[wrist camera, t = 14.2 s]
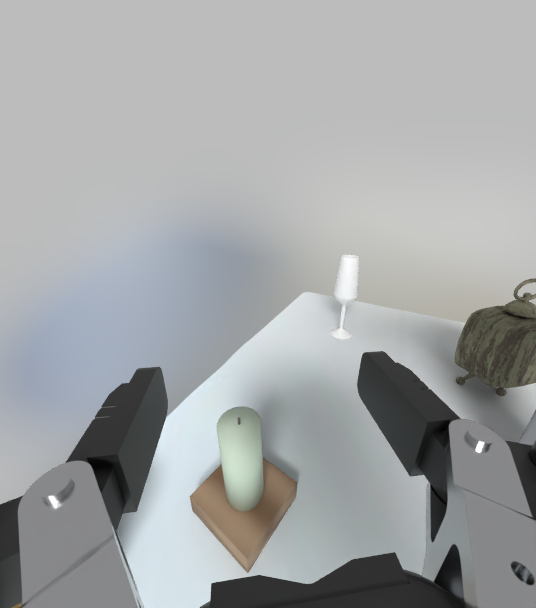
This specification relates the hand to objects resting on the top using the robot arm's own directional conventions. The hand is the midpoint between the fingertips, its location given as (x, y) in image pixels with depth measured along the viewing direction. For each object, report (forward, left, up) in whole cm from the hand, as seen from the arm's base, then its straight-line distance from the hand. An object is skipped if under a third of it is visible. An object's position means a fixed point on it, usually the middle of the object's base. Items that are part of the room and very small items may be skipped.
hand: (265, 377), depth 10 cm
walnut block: (-9, -11, -32) cm, 35 cm away
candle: (-9, -11, -29) cm, 32 cm away
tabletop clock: (-59, +16, -32) cm, 69 cm away
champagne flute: (-62, -20, -32) cm, 72 cm away
